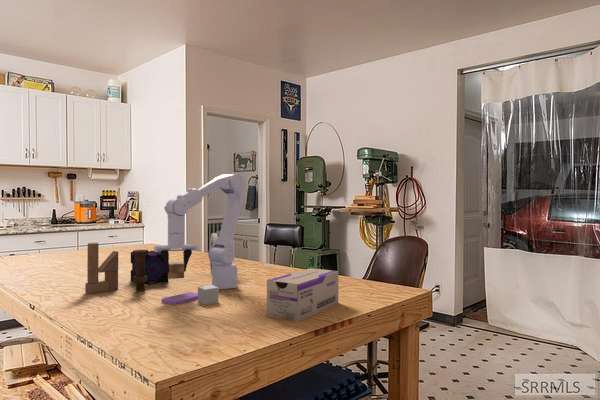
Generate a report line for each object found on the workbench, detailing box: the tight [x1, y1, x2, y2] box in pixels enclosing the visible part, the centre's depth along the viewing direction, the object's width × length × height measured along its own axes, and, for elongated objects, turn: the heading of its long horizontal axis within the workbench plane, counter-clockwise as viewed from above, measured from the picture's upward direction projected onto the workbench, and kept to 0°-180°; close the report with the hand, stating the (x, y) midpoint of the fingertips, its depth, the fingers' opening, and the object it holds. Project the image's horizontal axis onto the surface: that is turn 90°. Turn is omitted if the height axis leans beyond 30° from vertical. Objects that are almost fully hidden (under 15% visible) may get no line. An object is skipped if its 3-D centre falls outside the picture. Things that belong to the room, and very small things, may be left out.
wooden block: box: [84, 242, 119, 295], centre depth 153 cm, size 4×11×18 cm, turn 145°
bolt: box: [131, 249, 150, 292], centre depth 153 cm, size 6×5×15 cm
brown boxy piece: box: [168, 261, 185, 280], centre depth 146 cm, size 5×5×5 cm
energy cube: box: [130, 250, 169, 286], centre depth 171 cm, size 12×12×12 cm
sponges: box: [161, 291, 198, 306], centre depth 140 cm, size 7×13×2 cm, turn 148°
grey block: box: [197, 284, 220, 306], centre depth 137 cm, size 5×5×5 cm
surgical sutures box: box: [266, 267, 339, 323], centre depth 129 cm, size 25×11×11 cm, turn 148°
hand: (176, 271), depth 146 cm, fingers closed on brown boxy piece, 5 cm apart
